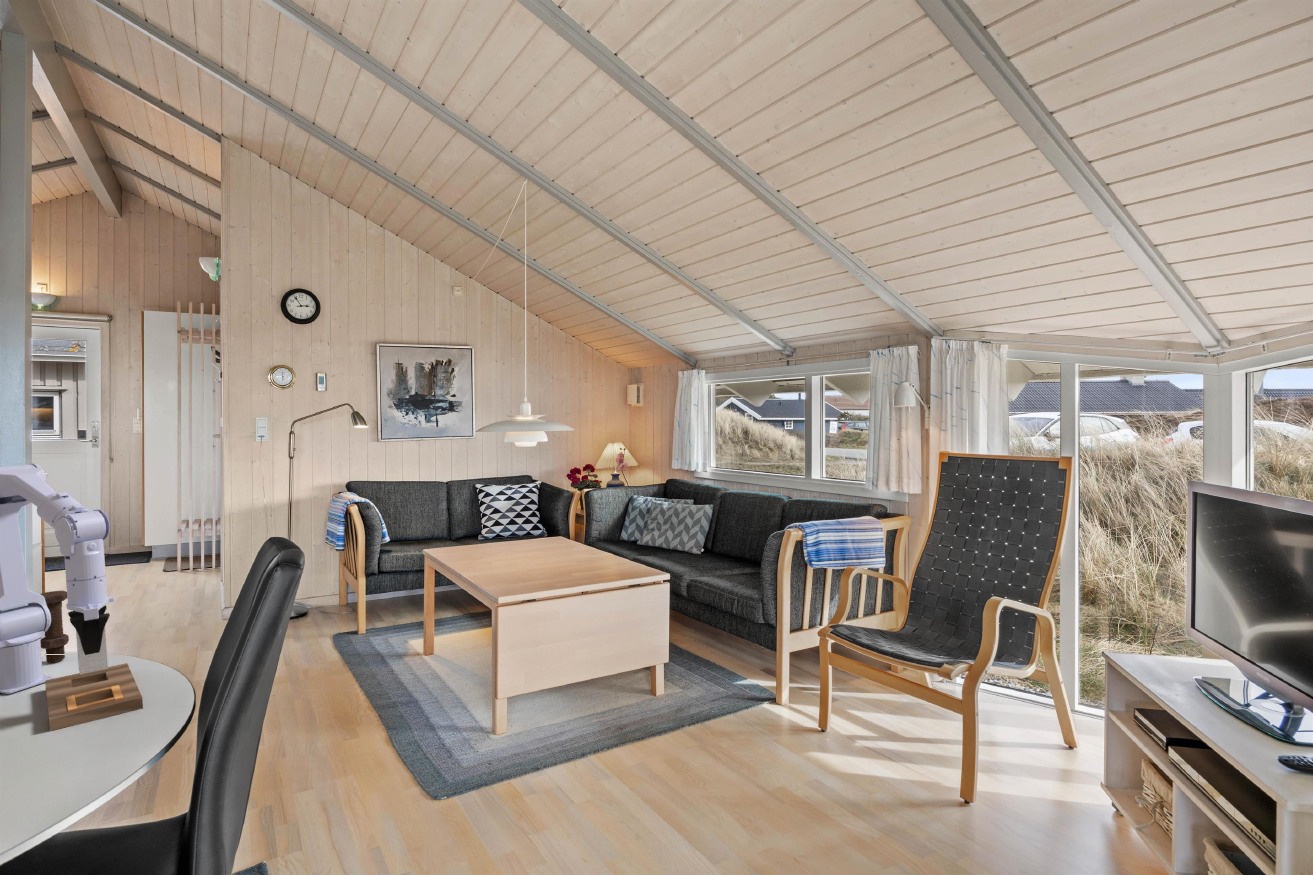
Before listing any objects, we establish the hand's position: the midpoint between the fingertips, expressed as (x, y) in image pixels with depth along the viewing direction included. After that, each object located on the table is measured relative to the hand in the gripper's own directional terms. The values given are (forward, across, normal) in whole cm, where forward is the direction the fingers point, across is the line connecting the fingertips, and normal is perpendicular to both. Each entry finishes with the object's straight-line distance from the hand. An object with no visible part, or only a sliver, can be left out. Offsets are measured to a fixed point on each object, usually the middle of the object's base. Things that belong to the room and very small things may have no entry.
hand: (91, 650), depth 133 cm
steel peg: (+3, 0, 0) cm, 4 cm away
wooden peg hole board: (+10, +4, 0) cm, 11 cm away
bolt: (+10, +36, +4) cm, 37 cm away
